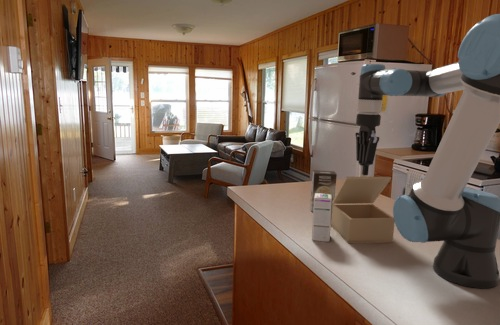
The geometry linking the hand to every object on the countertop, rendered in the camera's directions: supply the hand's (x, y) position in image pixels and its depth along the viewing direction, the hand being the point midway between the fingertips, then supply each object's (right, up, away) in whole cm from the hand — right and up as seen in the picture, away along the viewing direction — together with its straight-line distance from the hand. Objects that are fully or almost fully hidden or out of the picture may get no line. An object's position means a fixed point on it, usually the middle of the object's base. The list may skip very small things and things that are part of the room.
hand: (362, 183), depth 122 cm
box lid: (0, -3, +1) cm, 3 cm away
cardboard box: (0, -17, +2) cm, 17 cm away
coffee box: (-8, -13, +27) cm, 31 cm away
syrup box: (-15, -18, -3) cm, 23 cm away
